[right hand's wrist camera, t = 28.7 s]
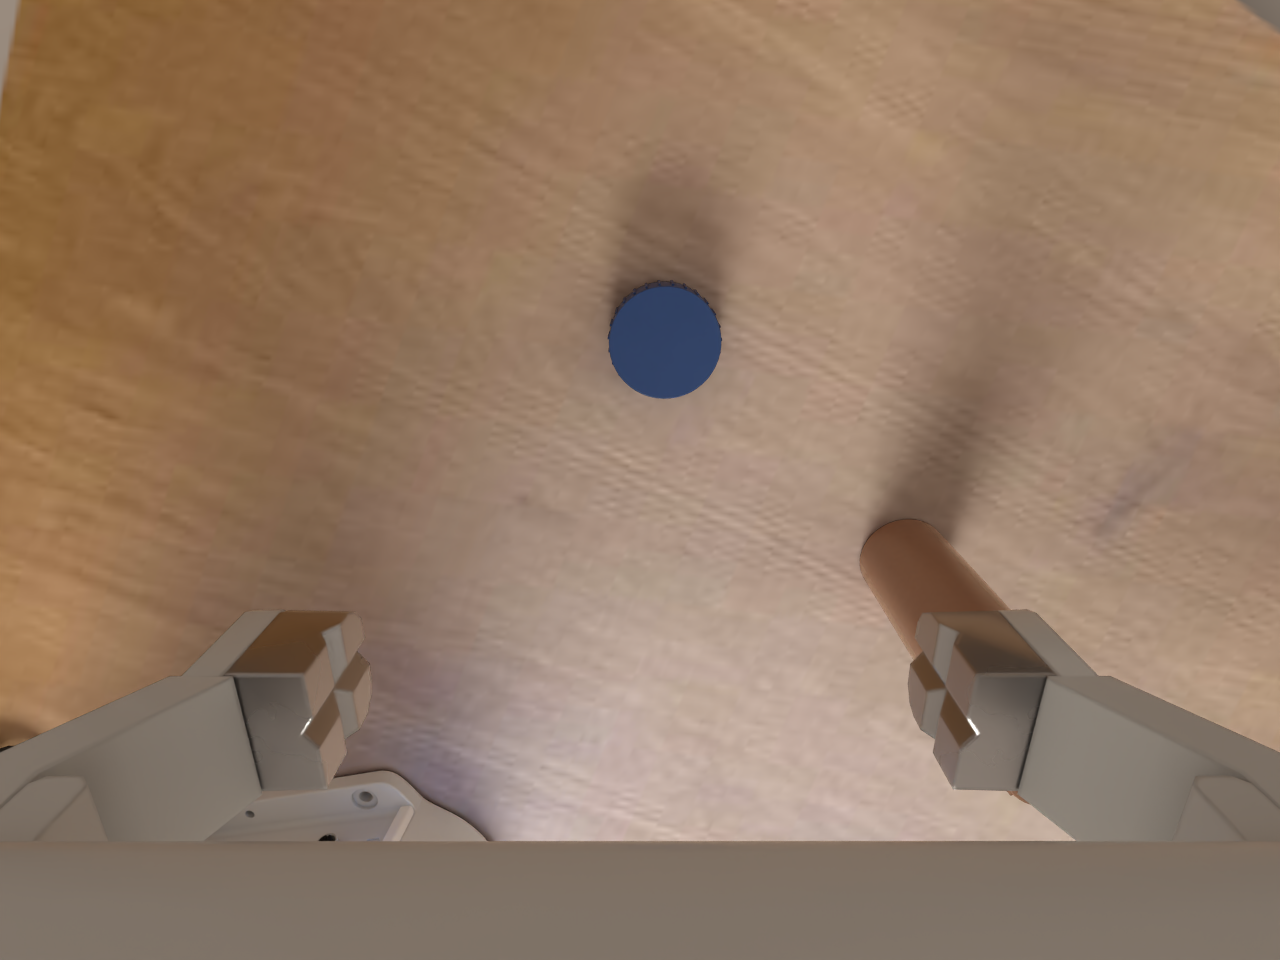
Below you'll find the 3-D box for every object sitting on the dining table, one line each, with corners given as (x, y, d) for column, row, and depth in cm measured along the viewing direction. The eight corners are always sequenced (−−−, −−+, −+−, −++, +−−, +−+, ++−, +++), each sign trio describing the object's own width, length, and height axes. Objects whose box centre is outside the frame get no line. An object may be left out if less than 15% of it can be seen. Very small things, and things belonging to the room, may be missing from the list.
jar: (916, 502, 39) (1091, 687, 24) (961, 562, 40) (1153, 773, 25) (842, 552, 40) (965, 759, 25) (889, 609, 42) (1031, 838, 26)
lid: (650, 409, 37) (651, 421, 35) (587, 323, 35) (584, 331, 33) (738, 348, 36) (745, 357, 34) (677, 256, 34) (679, 259, 32)
